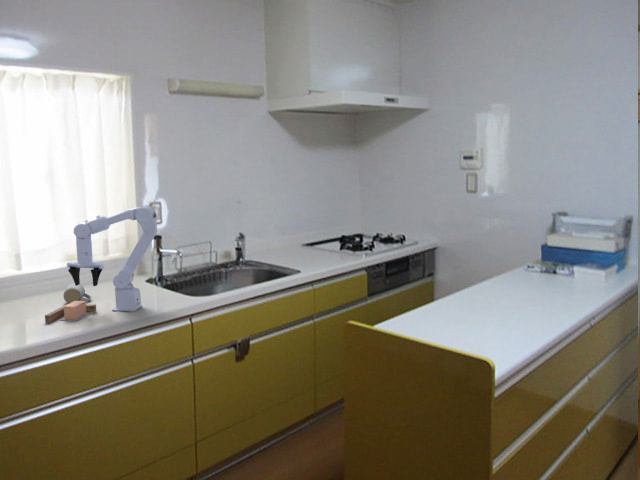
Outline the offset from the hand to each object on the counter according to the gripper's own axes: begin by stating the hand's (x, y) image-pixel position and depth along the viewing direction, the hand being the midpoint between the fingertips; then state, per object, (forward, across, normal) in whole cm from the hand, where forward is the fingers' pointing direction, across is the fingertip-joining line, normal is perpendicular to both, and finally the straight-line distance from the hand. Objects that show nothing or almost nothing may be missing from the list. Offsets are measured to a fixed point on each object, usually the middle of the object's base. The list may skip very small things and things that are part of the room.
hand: (86, 285), depth 225 cm
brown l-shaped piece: (+10, -1, -10) cm, 14 cm away
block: (+10, 0, -10) cm, 14 cm away
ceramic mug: (+11, -11, +12) cm, 20 cm away
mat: (+10, 0, -9) cm, 14 cm away
